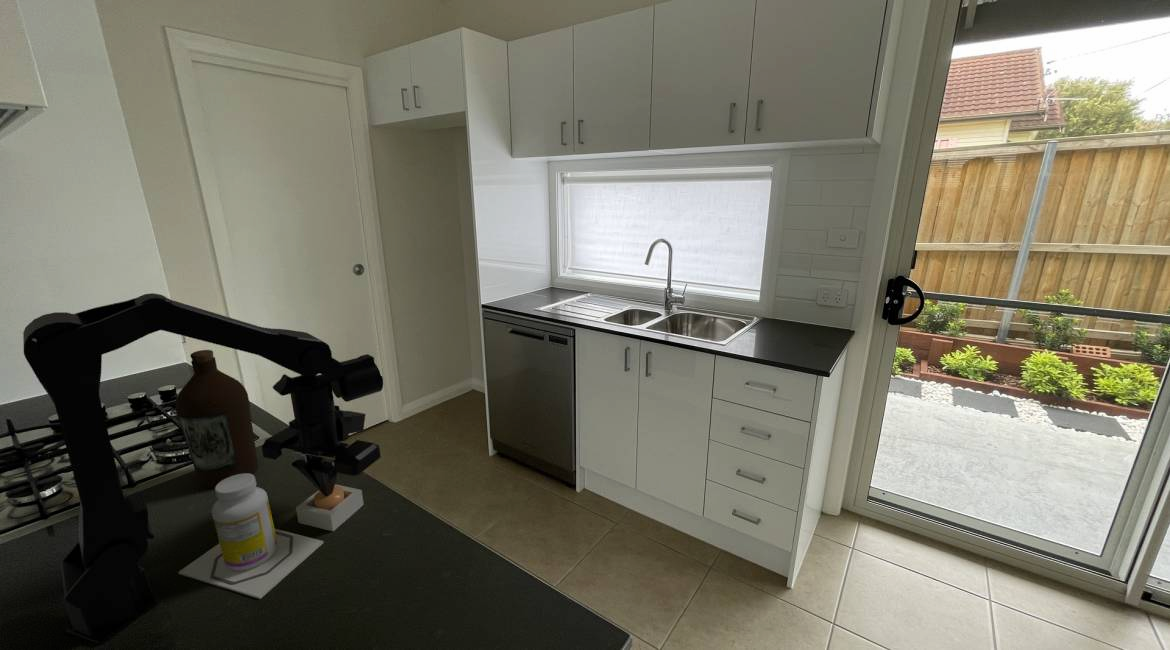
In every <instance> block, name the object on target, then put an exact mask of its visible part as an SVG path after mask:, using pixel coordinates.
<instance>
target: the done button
mask: <svg viewBox="0 0 1170 650" xmlns="http://www.w3.org/2000/svg"><path fill="white" fill-rule="evenodd" d="M318 491H319V490H318ZM316 492H317V491H316ZM316 492H315V493H316ZM344 499H345V498H344V491H343V489H342V488H341V487H338V486H334V490H333V493H332V494H331V495H329V496H325V495H323V494H322V493H321V492H320V491H319V492H317V493H316V495H315V496H314V501H315V507H317V508H321V509H325V510H329V511H331V510H332V509H333V508H334V507H335V506H337V505H338V504H339V503H340V502H342V501H343V500H344Z"/></svg>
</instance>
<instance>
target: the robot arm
mask: <svg viewBox="0 0 1170 650" xmlns="http://www.w3.org/2000/svg"><path fill="white" fill-rule="evenodd" d="M159 331H163V332H167V333H171V334H175V335H179V336H184V337H187V338H191V339H194V340H199V341H202V342H206V343H210V344H214V345H218V346H221V347H225V348H230V349H232V350H233V349H234V350H237V351H241V352H244V353H249V354H252V355H255V356H259V357H261V358H264V359H265V360H268V361H270V362H272V363H275V364H277V365H278V366H281V367H283V368H285V369H287V370H289V371H291V372H293V373H296V374H298V375H297V376H294V377H291V376H289V375H287V374H282V376H281V378H280V379H279V380H278V381H277V382H276V383H275V384H273V386H272V389H273V390H274V391H275V392H276V393H277V394H279V395H280V396H282V397H283V396H287V395H290V401H291V404H292V405H291V406H292V410H293V417H294V419H292V420H290V421H288V427H286V428H284V429H283V430H281V431H278V432H277V433H275V434H273V435H271V436H270V437H267V438H266V439H264V442H263V444H262V446H261V451H262V457H263V458H266V459H271V460H275V461H277V460H278V459H279V458H280V457H282V455H283V453H282V450H283V449H288V450H292V451H291V455H293V456H294V461H292V463H291V466H292V468H294V469H295V468H296V470H298V471H299V472H300V473H301V474H302V475H303V476H304V477H306V479H307V480H308V481H310V482H311V483H312V485H313V486H314V487H315V488H316V489H317V491H320V492H321V493H322V494H323V495H325V496H329V495H331V494H332V493H333V490H334V486H335V484H336V483H337V479H338V474H342V475H347V476H350V477H351V476H352V477H354V476H358V475H360V474H361V473H362V472H364V471H365V470H367V469H368V468H369V467H370V466H371V465H373V464H374V463H376V462H377V461H379V459H381V457H382V456H381V450H380V445H379V444H377V443H375V442H370V441H364V440H360V439H357V440H355V441H354V442H352V443H351V444H349V443H345V442H346V440H348V439H350V434H354V433H359V434H360V433H363V432H364V431H365V421H366V416H367V415H366V413H364V412H356V411H351V410H342V409H340V406H339V405H336V404H335V398H334V396H335V397H336V398H337V399H340V398H341V400H343V402H347V403H348V402H351V401H354V400H356V399H361V398H363V397H367V396H371V395H373V394H376V393H379V392H382V390H383V387H384V378H383V375H382V374H381V371H380V369H379V367H378V366H377V364H376V363H375V362H376V361H375V357H374V356H373V355H371V354H368V353H366V354H363V355H360V356H357V357H356V358H352V359H347V360H344V361H343V360H342V361H339V360H337V359H336V358H334V357H333V354H332V353H333V352H332V350H331V347H330V345H329V344H328V343H327V342H325V341H323V340H322V339H320V338H318V337H316V336H314V335H312V334H310V333H308V332H305V331H298V330H291V329H284V328H270V327H263V326H258V325H256V324H253V323H249V322H246V321H242V320H240V319H235V318H233V317H229V316H225V315H222V314H220V313H215V312H213V311H210V310H205V309H203V308H200V307H196V306H192V305H190V304H186V303H183V302H179V301H175V300H173V299H171V298H168V297H166V296H165V295H162V294H159V293H155V292H154V293H153V292H152V293H145V294H142V295H140V296H137V297H135V298H131V299H128V300H125V301H120V302H115V303H111V304H106V305H100V306H96V307H93V308H89V309H86V310H83V311H79V312H76V313H70V312H61V311H60V312H57V311H56V312H50V313H46V314H42V315H40V316H38V317H36V318H34V319H33V320H32V321H30V322H29V323H28V324H27V325H26V327H25V328H24V330H23V332H22V333H23V336H22V337H23V338H22V339H23V355H24V357H25V360H26V362H27V363H28V364H29V367H30V369H31V370H32V371H33V373H34V374H35V377H36V378H37V380H38V382H39V384H40V385H41V387H42V388H43V389H44V390H45V392H46V394H47V395H48V396H49V398H50V399H51V401H52V402H53V404H54V407H55V411H56V414H57V418H58V419H57V420H58V421H59V426H60V429H61V433H62V437H63V441H64V444H65V449H66V452H67V455H68V460H69V463H70V466H71V470H72V474H73V478H74V482H75V486H76V489H77V492H78V496H79V500H80V501H79V512H78V513H79V514H78V541H77V542H76V543H75V544H74V545H73V547H72V548H71V549H70V550H69V551H68V553H66V554H65V556H64V557H63V558H62V559H61V561H60V564H61V574H62V583H63V585H62V586H63V592H61V594H60V596H61V599H62V601H63V604H64V606H65V609H66V612H67V614H68V616H69V619H70V623H69V624H68V625H67V626H66V627H65V631H66V632H67V633H70V634H72V635H74V636H78V637H80V638H83V639H85V640H88V641H90V642H93V643H96V644H99V643H100V644H103V643H105V642H107V641H108V640H109V639H110V638H112V637H113V636H114V635H117V633H119V632H120V631H121V630H123V629H125V627H127V626H128V625H130V624H131V623H132V622H134V621H135V620H136V619H138V618H139V617H141V616H142V615H143V614H144V613H146V612H147V611H149V610H150V609H151V608H152V607H154V606H156V605H157V604H158V602H159V601H158V598H157V597H155V596H152V595H151V593H152V588H151V586H150V585H151V584H150V582H149V579H148V575H147V572H146V569H145V568H144V567H141V566H139V563H138V562H140V561H141V559H142V558H143V557H144V556H146V555H147V551H148V549H149V542H148V540H152V539H154V538H155V534H154V532H153V529H152V526H151V525H150V523H151V522H150V521H149V513H148V511H149V510H148V507H147V504H146V503H145V500H144V497H143V494H142V492H141V491H140V490H139V491H136V492H133V493H131V494H129V495H127V494H126V493H125V491H124V489H123V487H122V484H121V480H120V476H119V472H118V468H117V467H118V466H117V463H116V459H115V456H114V451H113V447H112V443H111V438H110V435H109V430H108V426H107V421H106V418H105V415H104V410H103V405H102V402H101V397H100V387H101V379H102V378H101V377H102V367H103V366H102V364H103V363H102V361H103V359H102V358H103V355H105V354H108V353H111V352H113V351H117V350H118V349H121V348H123V347H126V346H127V345H129V344H131V343H134V342H136V341H137V340H139V339H142V338H144V337H146V336H148V335H151V334H153V333H155V332H159ZM100 644H99V645H100Z"/></svg>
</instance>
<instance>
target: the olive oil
mask: <svg viewBox="0 0 1170 650" xmlns="http://www.w3.org/2000/svg"><path fill="white" fill-rule="evenodd" d="M190 358H191V362H190V364H191V366H192V367H191V368H192V369H193V375H192V376H191V377H190V379H189V380H188V381H187V382H186V383H185V384H184V386H183V387H182V388H181V390H180V391H179V393H178V394H177V396H176V399H175V406H174V409H175V414H176V417H177V419H178V422H179V426H180V429H181V431H182V435H183V436H184V440H185V443H186V446H187V449H188V452H189V455H190V459H191V462H192V464H193V469H194V472H195V475H196V478H197V482H198V484H199V486H201V487H203V488H206V489H215V487H216V485H217V484H218V483H219V482H221V481H222V480H224V479H226V478H228V477H231V476H233V475H237V474H244V473H248V474H252V475H254V474H255V473H256V472H257V471H258V469H259V459H258V452H257V448H256V447H257V446H256V442H255V435H254V429H253V428H254V426H253V422H252V415H251V408H250V407H251V406H250V400H249V395H248V391H247V389H246V388H245V386H244V385H243V383H241V382H240V381H239V380H238V379H236V378H234V377H232V376H230V375H228V374H226V373H224V372H222V371H221V370H220V369H218V366H217V361H216V357H214V351H213V350H211V349H203V350H196V351H193V352H192V353H190Z"/></svg>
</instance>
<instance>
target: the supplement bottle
mask: <svg viewBox="0 0 1170 650" xmlns="http://www.w3.org/2000/svg"><path fill="white" fill-rule="evenodd" d="M214 491H215V497H216V498H217V500H216V501H215V503H214V504H213V506H212V508H211V516H212V520H213V524H214V527H215V532H216V535H217V538H218V544H219V543H220V547H221V551H222V555H223V559H224V562H225V565H226V566H227V567H228V568H229V569H231V570H246V569H250V568H253V567H256V566H258V565H260V564H262V563H263V562H265V561H266V560H268V559H269V558H270V557H271V556H272V555H273V554H274V552H275V551H276V549H277V537H276V533H275V529H276V528H275V524H274V520H273V516H272V510H271V506H270V502H269V497H268V493H267V492H266V491H265V489H263V488H261V487H259V486H257V480H256V477H255V475H254V474H253V475H252V474H248V473H244V474H237V475H233V476H231V477H228V478H226V479H224V480H222V481H221V482H219V483H218V484H217V485H216V487H215V488H214Z"/></svg>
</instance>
